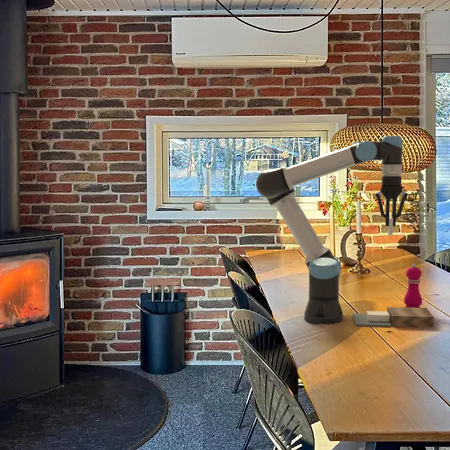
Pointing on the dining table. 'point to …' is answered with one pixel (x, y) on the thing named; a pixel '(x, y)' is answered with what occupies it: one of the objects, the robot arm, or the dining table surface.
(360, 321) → the charcoal mat
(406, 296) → the pepper mill
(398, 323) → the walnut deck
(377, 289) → the dining table surface
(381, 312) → the ceramic tile
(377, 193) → the robot arm
